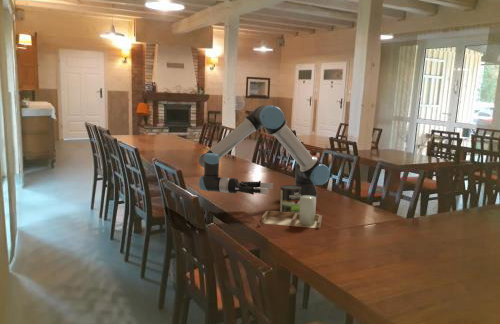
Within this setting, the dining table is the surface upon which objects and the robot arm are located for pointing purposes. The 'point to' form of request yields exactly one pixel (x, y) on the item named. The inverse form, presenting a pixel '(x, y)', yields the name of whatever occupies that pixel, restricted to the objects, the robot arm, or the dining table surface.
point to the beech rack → (287, 219)
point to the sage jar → (307, 210)
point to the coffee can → (290, 198)
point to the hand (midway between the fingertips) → (270, 188)
